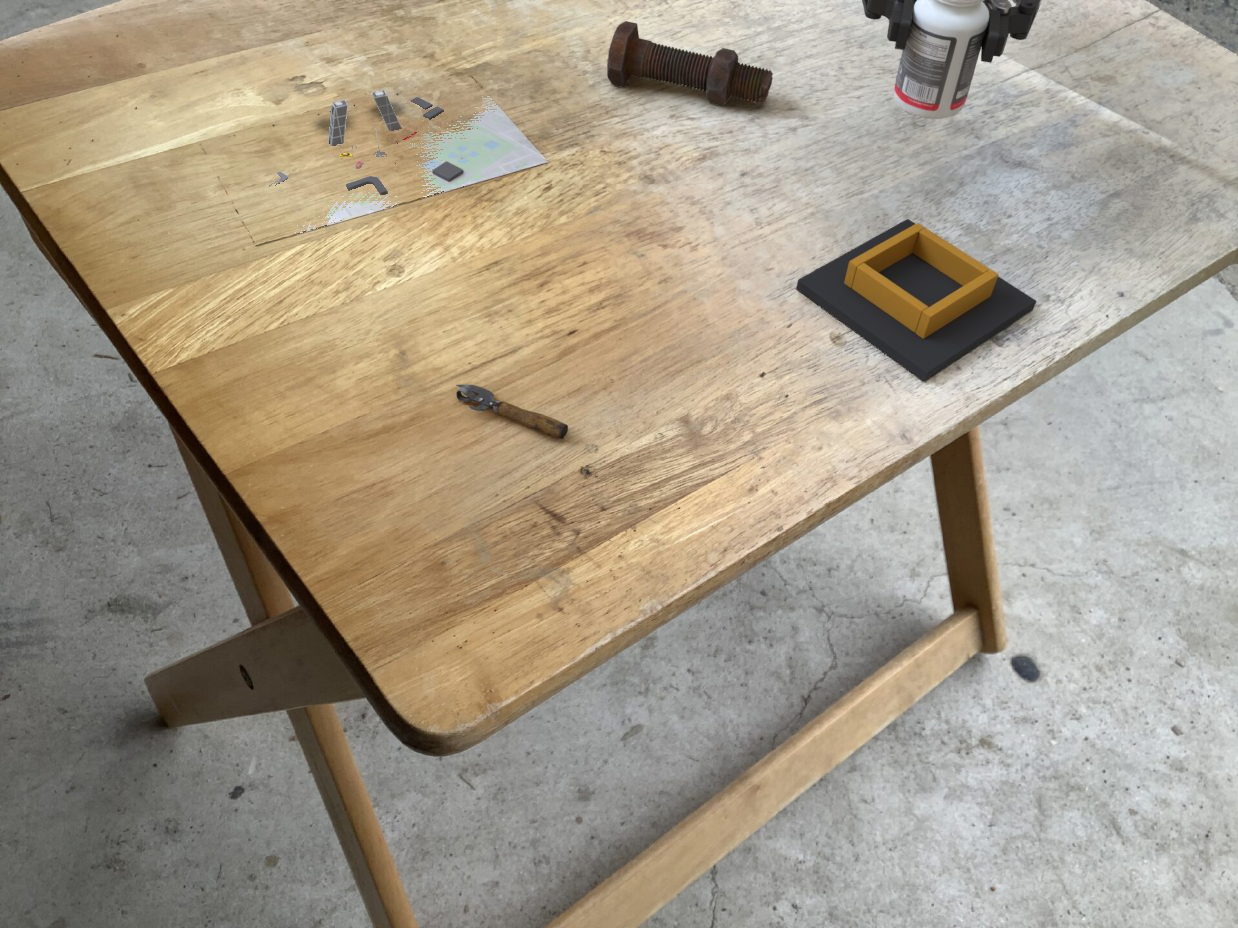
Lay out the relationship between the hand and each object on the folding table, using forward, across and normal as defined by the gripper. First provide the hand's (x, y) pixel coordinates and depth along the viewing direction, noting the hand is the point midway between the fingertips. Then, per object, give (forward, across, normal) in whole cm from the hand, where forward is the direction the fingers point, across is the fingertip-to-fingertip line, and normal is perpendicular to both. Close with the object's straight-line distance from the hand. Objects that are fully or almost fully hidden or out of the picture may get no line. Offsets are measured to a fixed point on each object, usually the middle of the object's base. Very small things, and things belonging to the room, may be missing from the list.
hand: (946, 43), depth 76 cm
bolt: (-18, -20, +18) cm, 33 cm away
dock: (+6, +2, +18) cm, 19 cm away
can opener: (+26, -24, +17) cm, 40 cm away
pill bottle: (-3, 0, +6) cm, 7 cm away
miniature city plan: (-1, -45, +18) cm, 48 cm away
